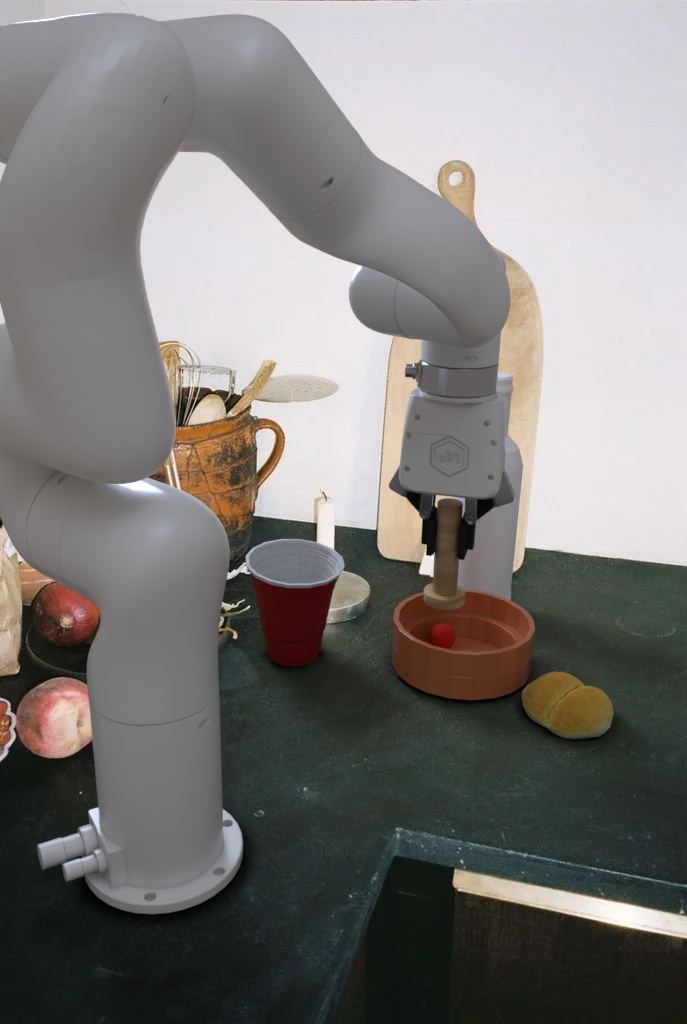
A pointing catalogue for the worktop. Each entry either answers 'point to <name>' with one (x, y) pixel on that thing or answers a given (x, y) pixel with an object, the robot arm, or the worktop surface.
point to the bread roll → (567, 706)
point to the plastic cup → (293, 595)
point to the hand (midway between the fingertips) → (447, 551)
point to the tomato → (442, 636)
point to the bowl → (464, 647)
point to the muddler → (446, 558)
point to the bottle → (496, 523)
